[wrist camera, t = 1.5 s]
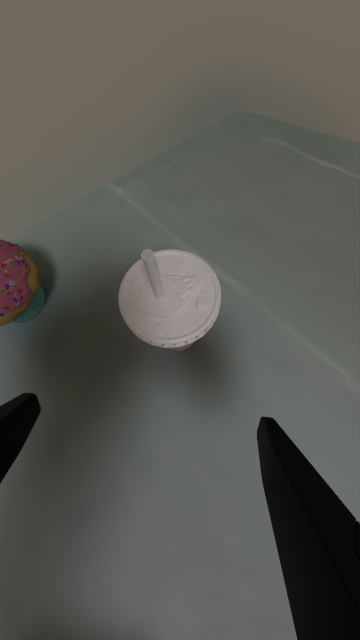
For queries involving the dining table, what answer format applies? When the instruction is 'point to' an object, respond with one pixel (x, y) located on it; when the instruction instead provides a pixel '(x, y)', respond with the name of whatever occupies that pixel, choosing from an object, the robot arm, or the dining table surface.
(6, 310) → the cupcake
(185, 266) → the smoothie
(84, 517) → the dining table surface
